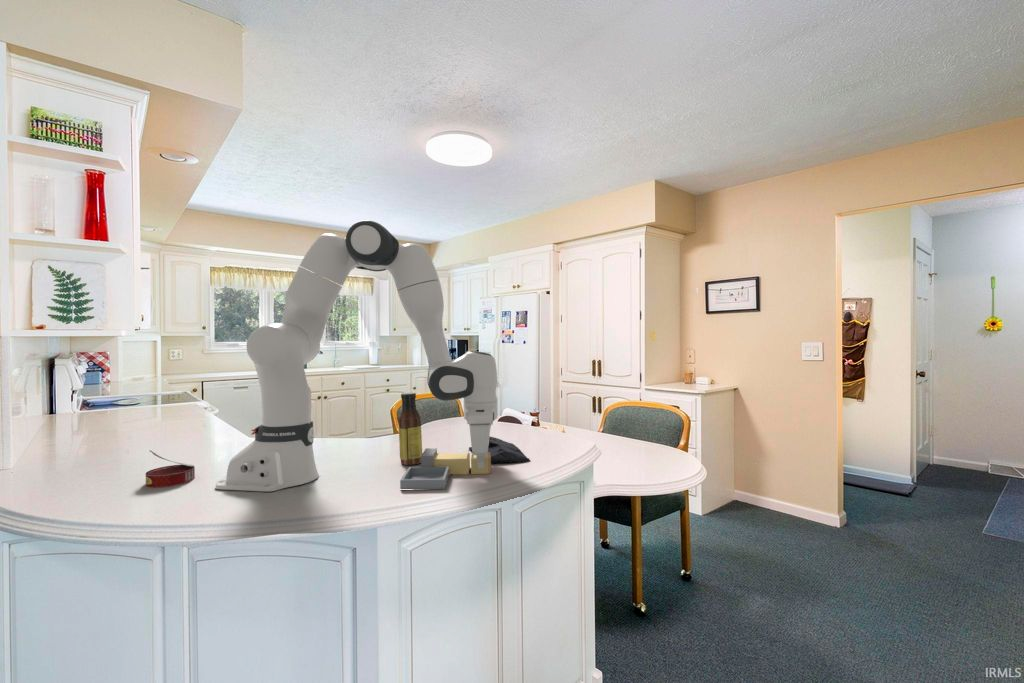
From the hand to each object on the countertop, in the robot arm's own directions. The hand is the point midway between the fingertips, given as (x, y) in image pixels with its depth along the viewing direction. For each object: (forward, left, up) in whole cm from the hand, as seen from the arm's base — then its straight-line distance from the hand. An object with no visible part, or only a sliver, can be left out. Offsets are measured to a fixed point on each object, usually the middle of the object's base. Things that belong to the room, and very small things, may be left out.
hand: (481, 464), depth 121 cm
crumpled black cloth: (+5, +17, -2) cm, 18 cm away
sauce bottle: (-20, +9, -2) cm, 22 cm away
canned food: (-77, -4, -2) cm, 77 cm away
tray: (-13, -10, -2) cm, 16 cm away
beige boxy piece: (-9, 0, -2) cm, 9 cm away
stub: (0, 0, -2) cm, 2 cm away
